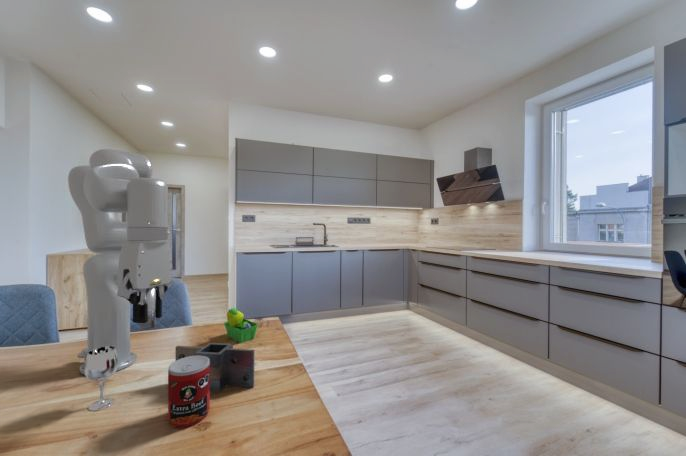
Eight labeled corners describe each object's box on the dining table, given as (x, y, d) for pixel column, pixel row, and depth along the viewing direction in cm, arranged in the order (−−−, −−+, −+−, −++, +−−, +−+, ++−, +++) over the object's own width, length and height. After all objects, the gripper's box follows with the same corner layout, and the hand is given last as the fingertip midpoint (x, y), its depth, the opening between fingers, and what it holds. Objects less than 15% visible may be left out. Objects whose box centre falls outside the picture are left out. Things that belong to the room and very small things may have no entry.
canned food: (165, 433, 56) (165, 375, 56) (170, 409, 64) (171, 358, 64) (209, 422, 59) (209, 368, 59) (209, 401, 67) (210, 352, 67)
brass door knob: (126, 330, 63) (127, 280, 63) (147, 322, 68) (148, 276, 68) (147, 332, 62) (147, 281, 62) (167, 324, 67) (167, 277, 67)
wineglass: (90, 416, 61) (90, 358, 61) (80, 407, 64) (80, 352, 64) (122, 402, 66) (122, 348, 66) (111, 394, 69) (111, 343, 69)
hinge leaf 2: (194, 390, 71) (194, 353, 71) (209, 377, 78) (209, 342, 78) (247, 394, 70) (248, 356, 70) (258, 380, 76) (258, 345, 76)
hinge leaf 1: (232, 378, 77) (232, 343, 77) (219, 392, 70) (219, 354, 70) (184, 375, 78) (184, 341, 78) (167, 388, 72) (167, 351, 72)
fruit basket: (259, 338, 104) (259, 306, 104) (236, 346, 98) (236, 312, 98) (242, 331, 112) (242, 301, 112) (219, 337, 105) (219, 306, 105)
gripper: (163, 234, 73) (163, 308, 73) (95, 236, 57) (95, 331, 58) (189, 234, 72) (189, 310, 72) (127, 237, 56) (126, 334, 56)
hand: (147, 319), depth 65 cm, fingers closed on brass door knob, 3 cm apart
